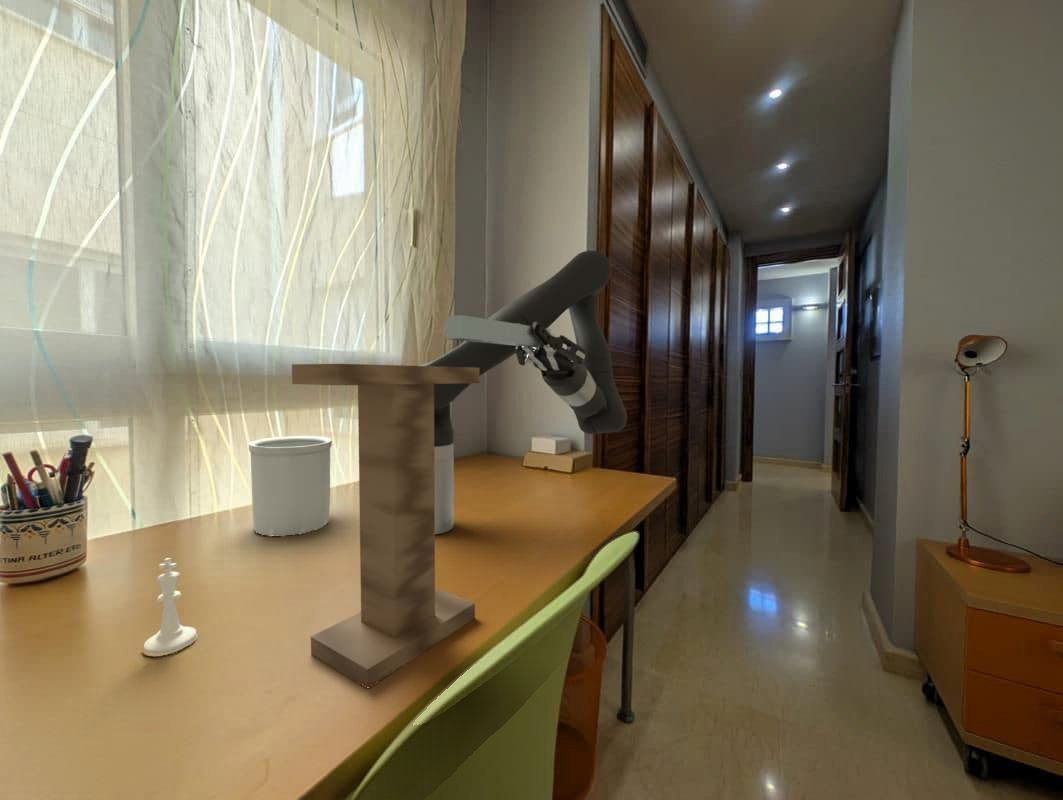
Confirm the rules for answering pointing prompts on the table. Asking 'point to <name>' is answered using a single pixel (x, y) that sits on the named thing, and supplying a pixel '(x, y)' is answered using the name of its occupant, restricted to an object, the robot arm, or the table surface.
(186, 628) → the chess piece
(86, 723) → the table surface
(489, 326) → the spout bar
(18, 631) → the table surface
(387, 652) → the walnut stand
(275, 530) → the utensil holder
